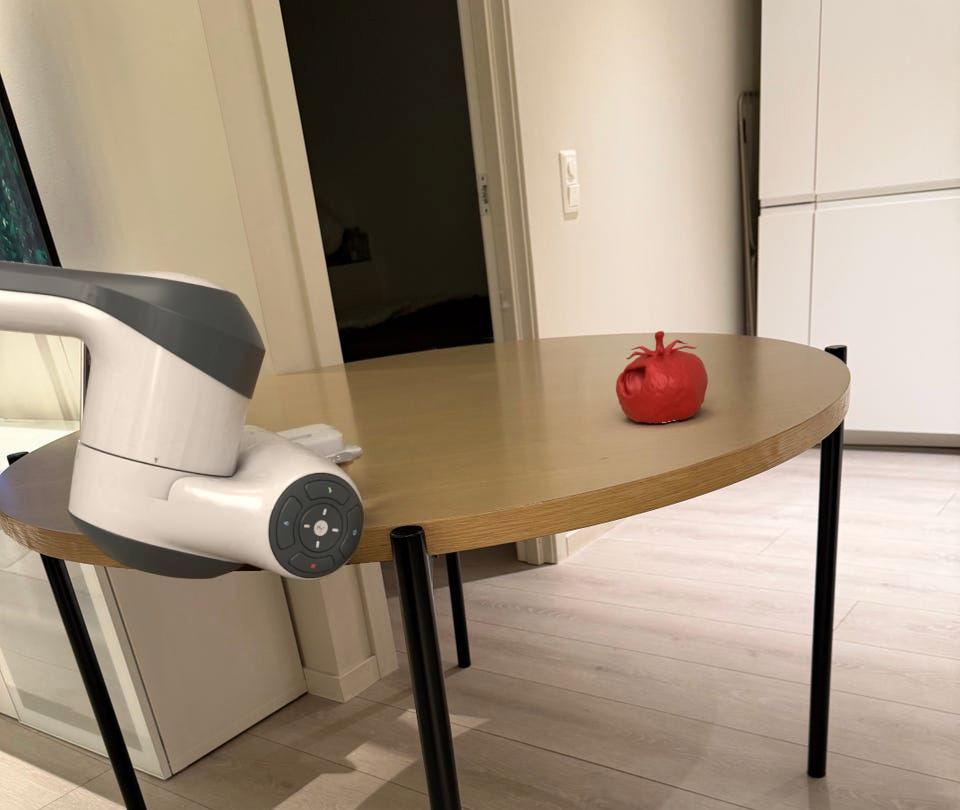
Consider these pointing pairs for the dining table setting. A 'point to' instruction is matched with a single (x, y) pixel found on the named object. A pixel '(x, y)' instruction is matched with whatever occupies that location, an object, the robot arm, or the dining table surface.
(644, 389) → the red tomato
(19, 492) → the dining table surface
